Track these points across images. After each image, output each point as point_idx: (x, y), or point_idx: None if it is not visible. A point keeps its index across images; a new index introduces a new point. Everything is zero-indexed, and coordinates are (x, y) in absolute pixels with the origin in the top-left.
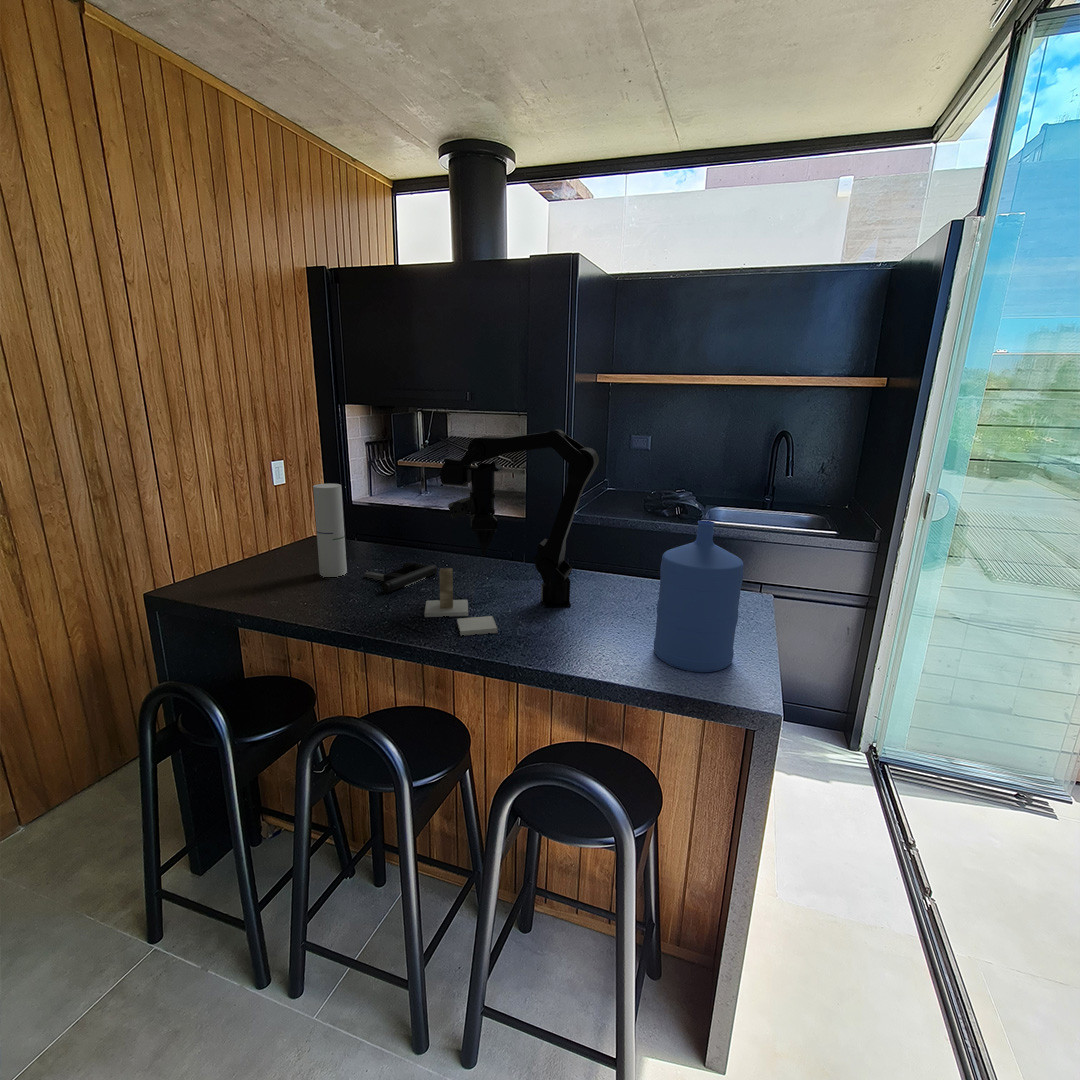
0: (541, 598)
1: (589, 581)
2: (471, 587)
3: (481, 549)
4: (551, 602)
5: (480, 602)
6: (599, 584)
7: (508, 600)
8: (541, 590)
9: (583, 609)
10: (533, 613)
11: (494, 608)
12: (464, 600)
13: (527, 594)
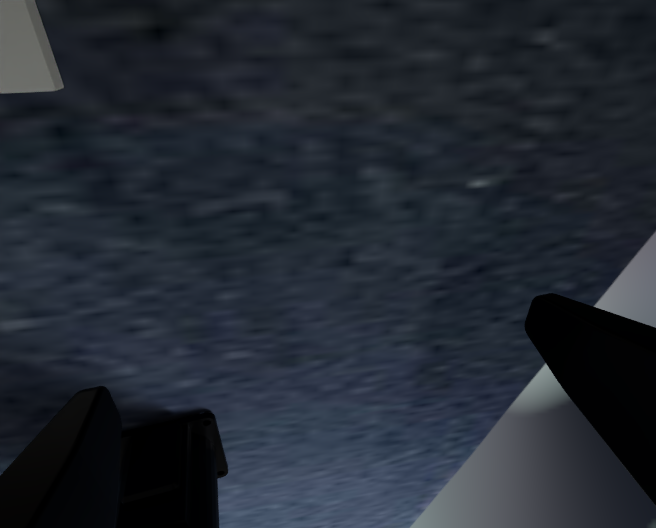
0: (157, 431)
1: (379, 485)
2: (359, 102)
3: (28, 461)
4: (123, 462)
5: (106, 170)
6: (351, 506)
7: (168, 302)
8: (162, 460)
9: None
10: (15, 410)
11: (24, 252)
12: (28, 65)
13: (256, 360)
